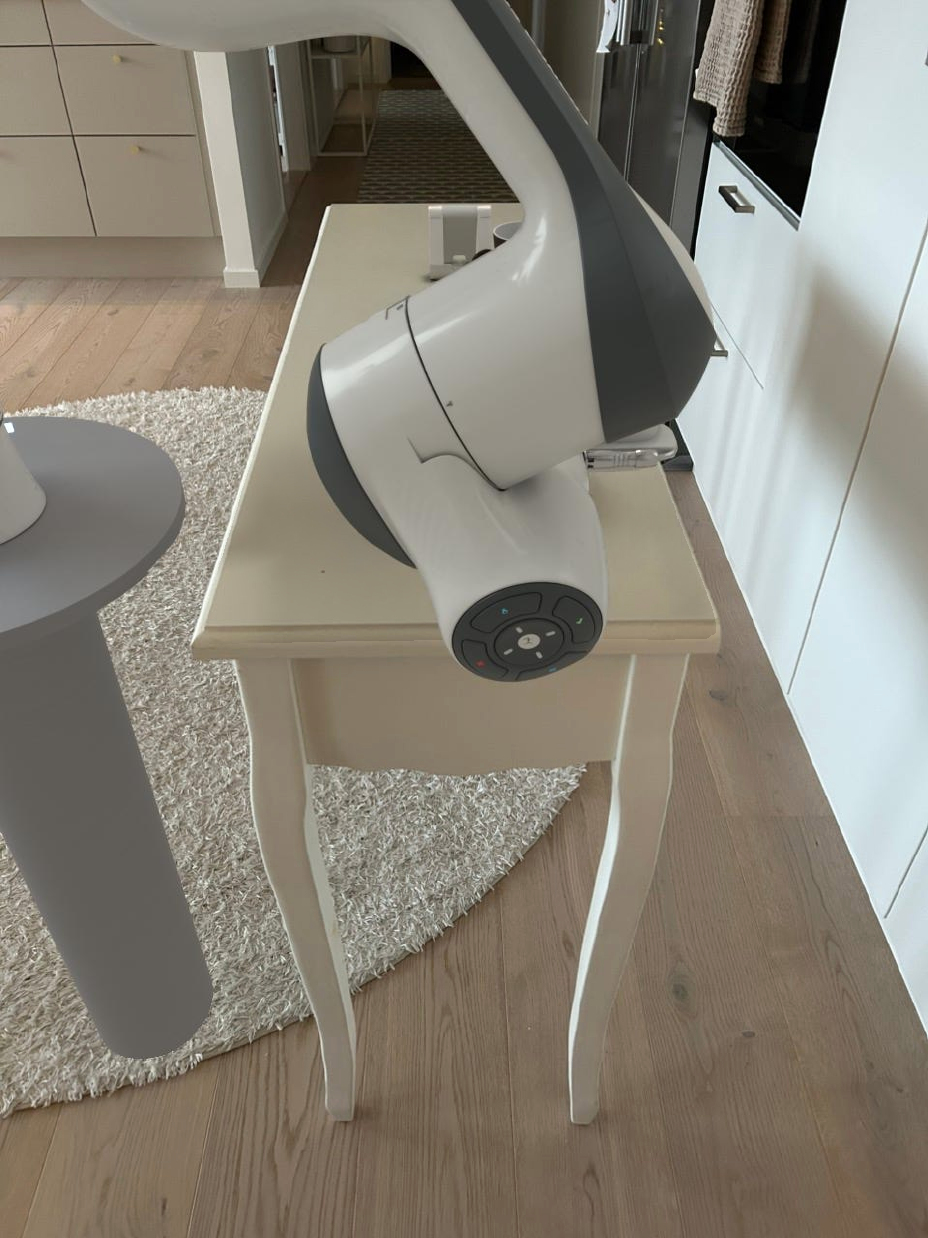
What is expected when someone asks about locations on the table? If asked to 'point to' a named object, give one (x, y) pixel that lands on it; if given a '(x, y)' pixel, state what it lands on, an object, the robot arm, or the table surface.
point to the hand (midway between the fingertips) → (493, 365)
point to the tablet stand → (456, 234)
